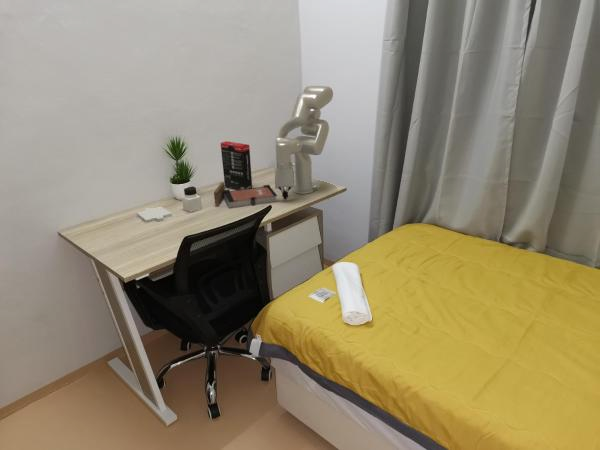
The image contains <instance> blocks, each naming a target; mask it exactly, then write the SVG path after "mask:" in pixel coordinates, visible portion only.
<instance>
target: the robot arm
mask: <svg viewBox="0 0 600 450" xmlns="http://www.w3.org/2000/svg"><path fill="white" fill-rule="evenodd" d="M333 96H334V90H333V89H332V88H331V87H330V86H326V85H325V86H323V85H309V86H308V85H307V86H306V87H305V88H304V89H303V91H302V92H300V93H299V94H297V97H296V101H295V103H294V106H293V111H292V114H291V117H290V118H289V119H288V120H287V121H286V122H285V123H284V124H283V125H282V126H281V127H280V129H279V131H278V132H277V136H276V140H275V156H276V157H275V158H276V159H275V160H276V167H275V171H274V172H275V173H274V189H276V190H277V189H279V191H280V192H281V193H282V195H281V197H282V198H283V200H287V198H289V192H290V190H292V192H293V193H294V194H298V195H299V194H300V195H306V194H312V193H314V191H315V189H320V184H318V183H315V184H314V183H313V181H312V178H313V177H312V159H311V156H310V155H312V156H320V155H321V154H322V152H323V151H324V148H325V144H326V141H327V139H328V135H329V133H330V132H329V131H330V125H329V123H328V121H327V120H325V119H322V118H321V119H320V117H321V109H323V108H324V107H326V106H327V105H328V104H329V103H331V101H332V100H333ZM299 128H300V132H301V134H302V135H298V136H295V137H294V138H293V137H292V138H291V137H290V138H289V137H288V135H289V134H290V133H291V132H292V131H294V130H295V129H299ZM292 155H293V156H294V157H293V158H294V163H292V157H291V156H292ZM293 167H294V168H293Z"/></svg>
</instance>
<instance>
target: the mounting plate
mask: <svg viewBox="0 0 600 450" xmlns="http://www.w3.org/2000/svg"><path fill="white" fill-rule="evenodd" d="M172 214H173V213H172V212H170V211H169V210H167V209H166V208H164V207H163V206H158V207H153V208H152V207H147V208H144V210H141V211H137V212H136V216H137V217H138V218H140V219H141V220H142V221H143V222H144V223H146V224H148V223H152V222H156V221H157V222H163V221H164V219H166V218H170V217H172Z"/></svg>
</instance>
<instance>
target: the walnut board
mask: <svg viewBox="0 0 600 450" xmlns="http://www.w3.org/2000/svg"><path fill="white" fill-rule="evenodd" d="M223 190H226V187H225V182H224V181H221V182H220V183H219V184H218V186H217V187H216V189H215V190H214V192H213V197H214V206H215V208H217V207H220V205H221V203H222V202H223V201H224V200H225V199H224V193H223Z"/></svg>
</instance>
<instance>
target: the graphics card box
mask: <svg viewBox="0 0 600 450" xmlns="http://www.w3.org/2000/svg"><path fill="white" fill-rule="evenodd" d="M250 149H251V148H250V144H246V143H239V142H235V141H234V142H233V141H223V142H220V153H221V163H222V172H223V179H224V181H223V182H224V186H225V188H229V189H233V190H235V191H236V190H244V189H252V188H253V178H252V166H251V151H250Z"/></svg>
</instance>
